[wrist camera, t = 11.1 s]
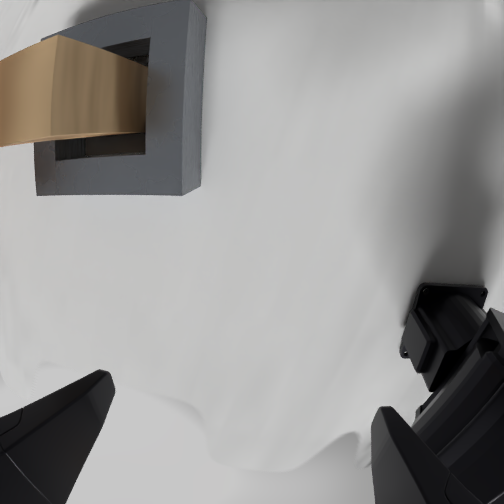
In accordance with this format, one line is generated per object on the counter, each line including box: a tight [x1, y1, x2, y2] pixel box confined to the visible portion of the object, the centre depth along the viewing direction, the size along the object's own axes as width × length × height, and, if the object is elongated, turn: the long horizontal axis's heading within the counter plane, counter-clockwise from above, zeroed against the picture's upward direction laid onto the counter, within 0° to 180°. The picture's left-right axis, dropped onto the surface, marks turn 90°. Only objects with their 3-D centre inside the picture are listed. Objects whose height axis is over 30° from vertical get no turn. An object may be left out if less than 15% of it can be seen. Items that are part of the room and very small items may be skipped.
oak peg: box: [0, 35, 148, 147], centre depth 14 cm, size 4×4×10 cm
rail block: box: [34, 0, 207, 196], centre depth 17 cm, size 11×12×4 cm
